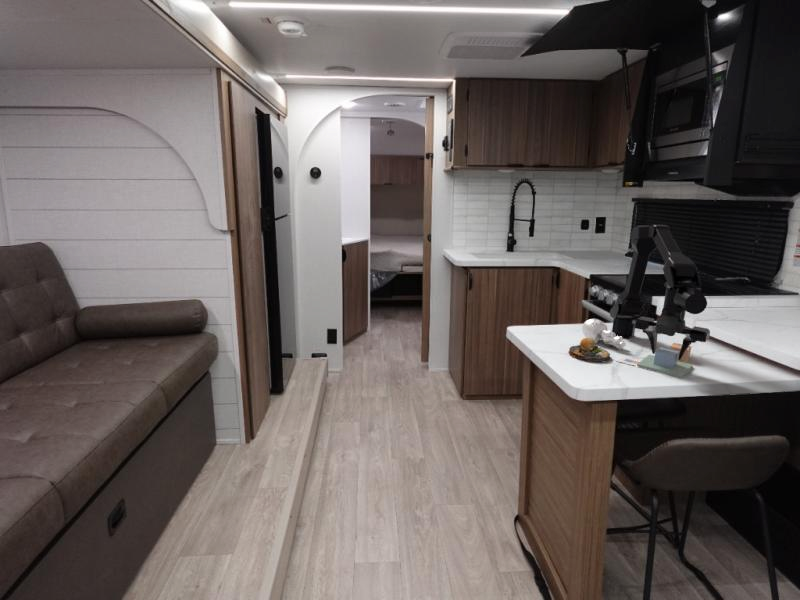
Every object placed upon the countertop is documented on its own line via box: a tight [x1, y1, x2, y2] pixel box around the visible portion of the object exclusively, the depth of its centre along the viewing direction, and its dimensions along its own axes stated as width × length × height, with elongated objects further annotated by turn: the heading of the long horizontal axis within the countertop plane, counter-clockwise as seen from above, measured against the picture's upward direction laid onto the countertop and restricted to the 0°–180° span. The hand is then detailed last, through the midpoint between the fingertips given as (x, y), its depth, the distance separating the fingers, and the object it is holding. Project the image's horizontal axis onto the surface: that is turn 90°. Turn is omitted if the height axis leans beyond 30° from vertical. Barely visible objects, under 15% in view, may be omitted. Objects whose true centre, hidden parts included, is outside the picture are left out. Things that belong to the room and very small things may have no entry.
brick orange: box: [669, 342, 692, 363], centre depth 154 cm, size 5×5×4 cm
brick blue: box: [654, 347, 679, 369], centre depth 145 cm, size 5×5×4 cm
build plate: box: [637, 354, 694, 379], centre depth 146 cm, size 12×12×1 cm
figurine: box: [581, 318, 626, 350], centre depth 165 cm, size 11×7×15 cm
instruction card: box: [616, 356, 644, 369], centre depth 149 cm, size 8×6×1 cm
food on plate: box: [568, 335, 611, 364], centre depth 153 cm, size 12×12×8 cm
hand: (666, 356), depth 145 cm, fingers open, 7 cm apart
